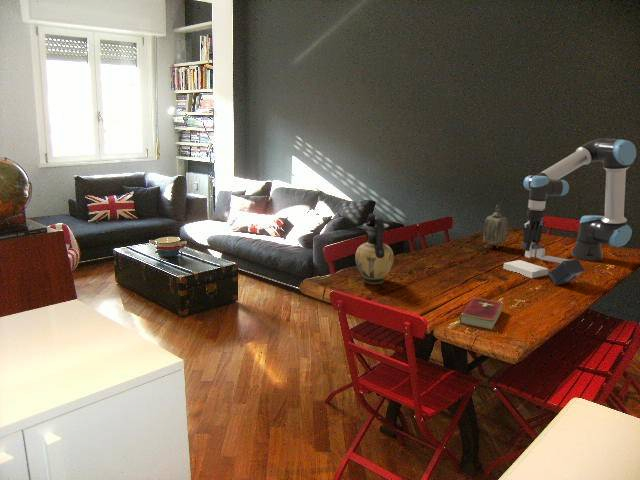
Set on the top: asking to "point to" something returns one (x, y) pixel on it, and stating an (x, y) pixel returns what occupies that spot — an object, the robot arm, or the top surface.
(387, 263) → the amphora
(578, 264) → the small box
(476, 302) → the hardcover book
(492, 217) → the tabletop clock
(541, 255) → the dark gray bar
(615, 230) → the robot arm
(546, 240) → the top surface
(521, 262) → the board
